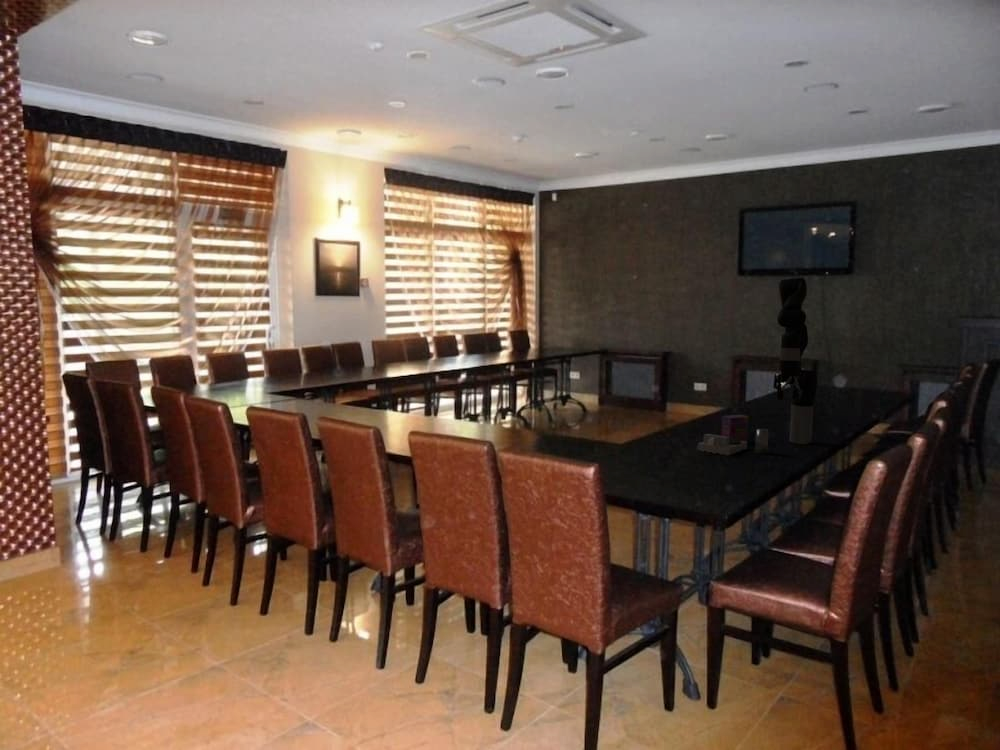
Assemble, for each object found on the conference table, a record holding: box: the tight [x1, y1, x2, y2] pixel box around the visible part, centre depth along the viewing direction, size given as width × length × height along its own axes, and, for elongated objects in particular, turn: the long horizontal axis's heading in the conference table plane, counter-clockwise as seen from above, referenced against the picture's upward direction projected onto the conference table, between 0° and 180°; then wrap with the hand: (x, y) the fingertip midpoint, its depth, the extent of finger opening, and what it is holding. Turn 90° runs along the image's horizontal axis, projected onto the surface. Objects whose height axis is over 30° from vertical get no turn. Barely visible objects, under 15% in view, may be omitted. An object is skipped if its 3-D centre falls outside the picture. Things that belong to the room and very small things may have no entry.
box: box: [721, 414, 749, 443], centre depth 328 cm, size 10×6×12 cm, turn 112°
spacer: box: [754, 428, 770, 455], centre depth 305 cm, size 5×5×10 cm
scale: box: [697, 433, 748, 456], centre depth 311 cm, size 19×14×7 cm
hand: (787, 399), depth 291 cm, fingers open, 8 cm apart
